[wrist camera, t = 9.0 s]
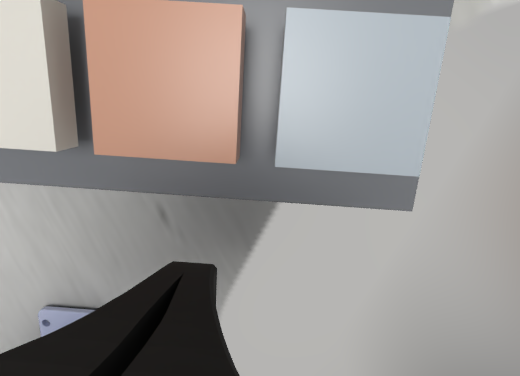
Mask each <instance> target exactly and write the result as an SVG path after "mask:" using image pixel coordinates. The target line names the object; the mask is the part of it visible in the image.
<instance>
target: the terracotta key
mask: <svg viewBox="0 0 520 376" xmlns="http://www.w3.org/2000/svg"><path fill="white" fill-rule="evenodd" d="M83 11H84V24H85V37H86V51H87V64H88V77H89V91H90V104H91V118H92V131H93V144H94V154H95V155H110V156H124V157H139V158H154V159H168V160H183V161H198V162H212V163H227V164H236V163H237V161H238V159H239V157H240V137H241V115H242V93H243V71H244V49H245V27H246V14H245V11H244V8H243V5H237V4H220V3H203V2H186V1H169V0H83Z"/></svg>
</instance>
